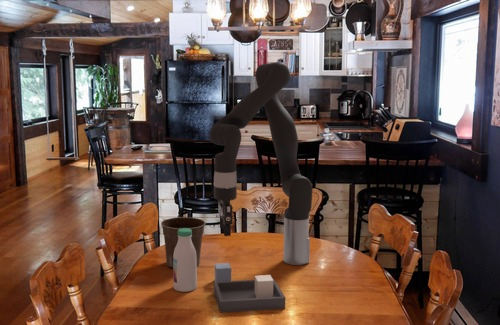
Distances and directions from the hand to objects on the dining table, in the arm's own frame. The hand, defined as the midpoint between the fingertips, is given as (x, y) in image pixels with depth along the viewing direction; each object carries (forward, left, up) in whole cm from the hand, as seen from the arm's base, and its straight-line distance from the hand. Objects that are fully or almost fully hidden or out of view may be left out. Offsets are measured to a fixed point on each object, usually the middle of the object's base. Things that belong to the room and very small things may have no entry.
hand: (225, 232), depth 192 cm
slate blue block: (+1, -1, -18) cm, 18 cm away
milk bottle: (+14, +2, -18) cm, 23 cm away
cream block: (-10, +15, -17) cm, 25 cm away
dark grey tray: (-5, +15, -18) cm, 24 cm away
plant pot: (+13, -21, -18) cm, 31 cm away
